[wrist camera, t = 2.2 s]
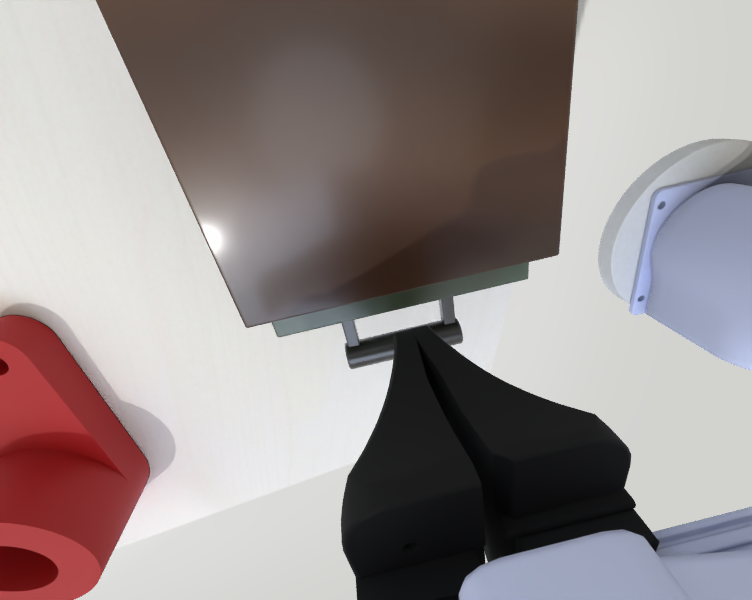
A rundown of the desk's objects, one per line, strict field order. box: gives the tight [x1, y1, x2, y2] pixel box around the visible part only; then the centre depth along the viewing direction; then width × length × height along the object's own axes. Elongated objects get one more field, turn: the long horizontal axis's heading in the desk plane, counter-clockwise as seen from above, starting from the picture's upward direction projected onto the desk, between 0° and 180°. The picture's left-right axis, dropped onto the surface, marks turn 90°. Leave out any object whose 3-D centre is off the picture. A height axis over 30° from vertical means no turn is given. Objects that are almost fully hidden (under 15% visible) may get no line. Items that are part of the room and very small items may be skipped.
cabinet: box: [96, 0, 578, 328], centre depth 12 cm, size 14×11×9 cm
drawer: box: [272, 262, 529, 369], centre depth 14 cm, size 17×10×7 cm, turn 11°
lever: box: [0, 315, 150, 600], centre depth 21 cm, size 18×9×7 cm, turn 174°
